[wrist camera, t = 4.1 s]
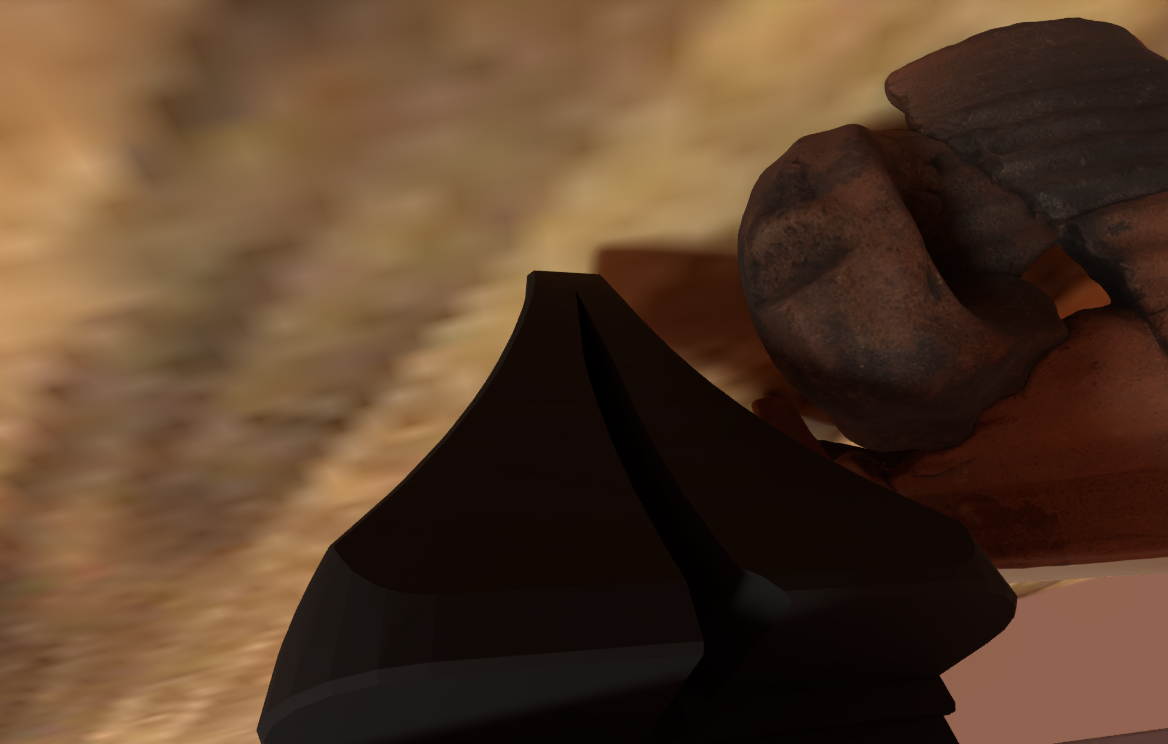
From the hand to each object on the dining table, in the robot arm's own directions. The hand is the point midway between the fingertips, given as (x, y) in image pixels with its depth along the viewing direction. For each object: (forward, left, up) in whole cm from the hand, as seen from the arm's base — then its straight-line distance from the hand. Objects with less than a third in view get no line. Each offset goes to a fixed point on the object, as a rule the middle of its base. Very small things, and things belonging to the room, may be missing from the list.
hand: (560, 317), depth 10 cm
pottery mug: (+1, -7, -2) cm, 7 cm away
